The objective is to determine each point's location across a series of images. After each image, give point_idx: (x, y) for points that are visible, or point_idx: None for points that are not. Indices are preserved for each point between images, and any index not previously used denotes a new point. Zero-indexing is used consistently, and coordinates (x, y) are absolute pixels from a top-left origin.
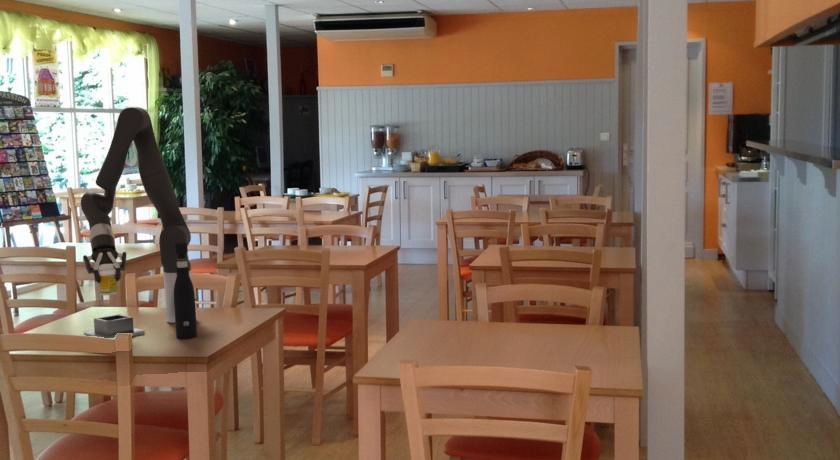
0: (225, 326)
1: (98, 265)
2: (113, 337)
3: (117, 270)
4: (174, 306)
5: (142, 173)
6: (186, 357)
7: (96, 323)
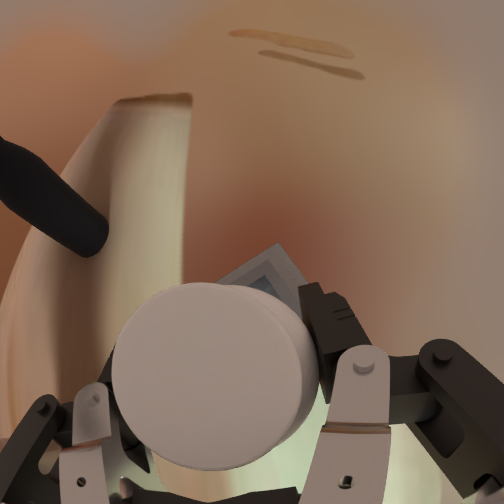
0: (26, 321)
1: (332, 418)
2: (252, 260)
3: None
4: (63, 193)
5: None
6: (134, 98)
7: None
